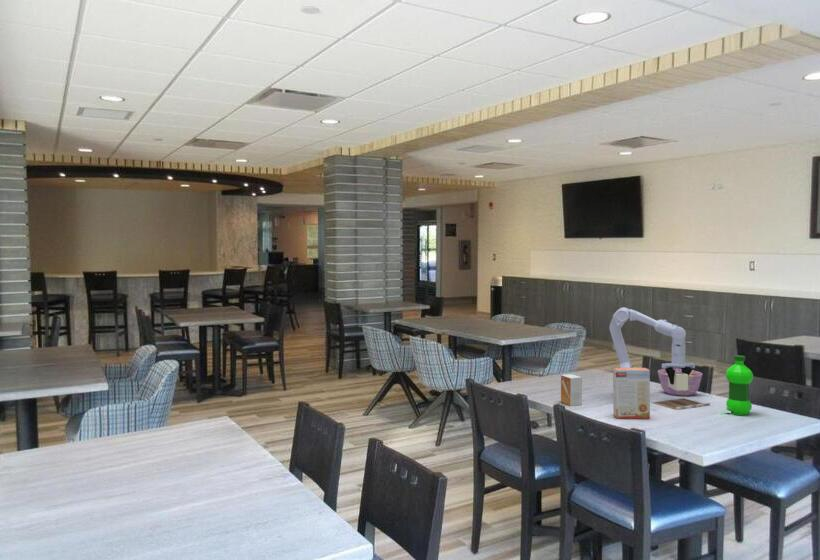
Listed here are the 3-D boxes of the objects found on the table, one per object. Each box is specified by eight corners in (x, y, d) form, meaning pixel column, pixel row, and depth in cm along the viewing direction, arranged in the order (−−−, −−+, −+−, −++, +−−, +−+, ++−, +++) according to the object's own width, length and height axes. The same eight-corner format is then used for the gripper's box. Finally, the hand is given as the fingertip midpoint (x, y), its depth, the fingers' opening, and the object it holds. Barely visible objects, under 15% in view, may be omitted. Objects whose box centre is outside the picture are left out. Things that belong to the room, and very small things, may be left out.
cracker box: (646, 415, 266) (646, 367, 265) (650, 419, 260) (650, 369, 259) (612, 415, 267) (612, 366, 266) (615, 418, 261) (616, 369, 260)
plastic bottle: (738, 417, 261) (739, 358, 260) (719, 411, 272) (720, 354, 270) (757, 415, 264) (758, 357, 263) (738, 409, 274) (739, 353, 273)
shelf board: (677, 413, 268) (677, 408, 268) (651, 405, 282) (651, 400, 282) (710, 408, 276) (710, 403, 276) (683, 401, 290) (683, 396, 290)
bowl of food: (693, 391, 310) (693, 368, 310) (708, 401, 290) (709, 376, 290) (652, 391, 312) (652, 368, 312) (664, 400, 292) (664, 376, 292)
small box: (560, 402, 290) (560, 374, 290) (572, 401, 292) (572, 373, 292) (570, 406, 283) (570, 378, 282) (582, 405, 285) (582, 377, 284)
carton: (688, 390, 276) (688, 374, 276) (677, 390, 276) (677, 374, 276) (679, 386, 284) (679, 371, 284) (668, 386, 284) (668, 371, 284)
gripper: (667, 355, 275) (666, 386, 276) (698, 355, 276) (698, 385, 277) (659, 353, 282) (659, 382, 283) (690, 352, 283) (689, 382, 284)
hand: (678, 383), depth 280 cm, fingers closed on carton, 5 cm apart
